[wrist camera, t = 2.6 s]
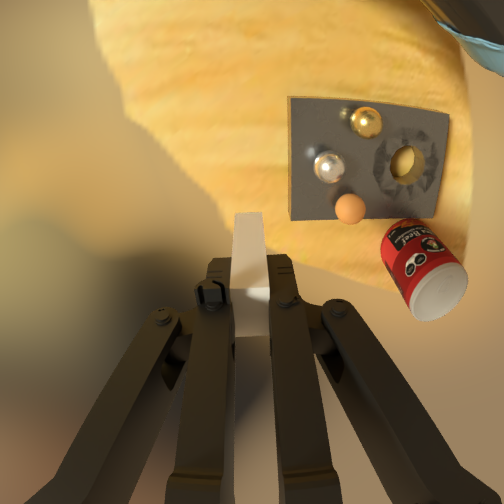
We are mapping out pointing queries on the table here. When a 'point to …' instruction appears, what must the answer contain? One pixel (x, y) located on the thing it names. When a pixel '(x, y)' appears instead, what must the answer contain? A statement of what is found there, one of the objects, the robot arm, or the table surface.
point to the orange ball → (350, 209)
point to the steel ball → (329, 167)
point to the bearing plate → (364, 158)
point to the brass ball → (366, 123)
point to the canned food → (423, 269)
